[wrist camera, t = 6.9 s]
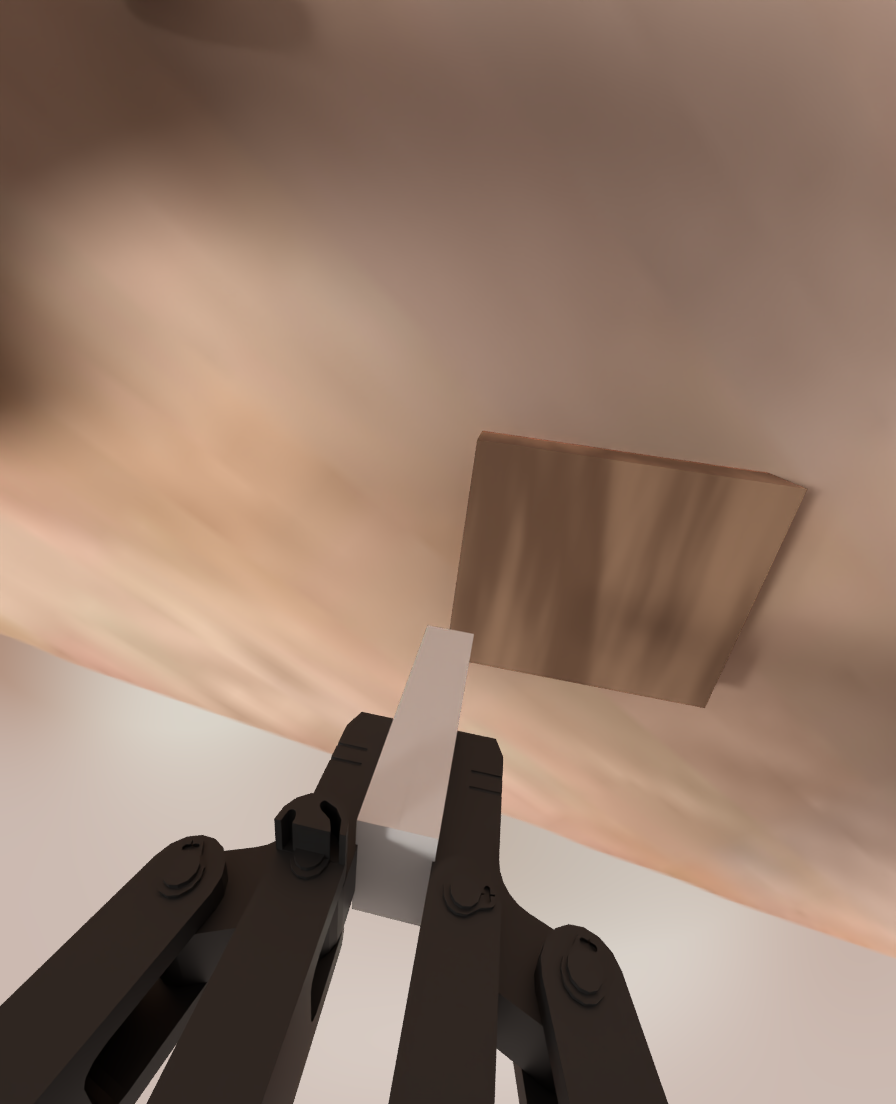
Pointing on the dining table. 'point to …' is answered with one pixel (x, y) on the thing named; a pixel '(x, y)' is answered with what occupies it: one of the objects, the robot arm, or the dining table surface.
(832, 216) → the dining table surface
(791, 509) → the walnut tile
